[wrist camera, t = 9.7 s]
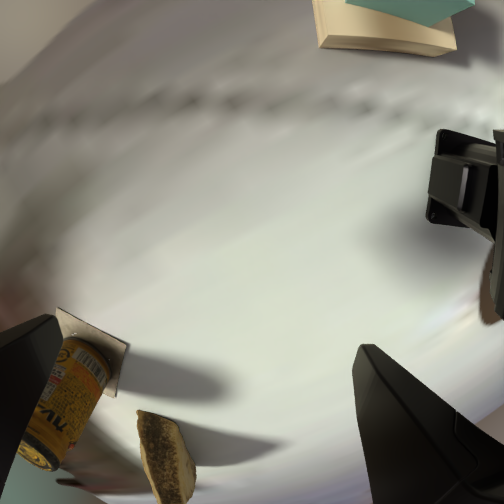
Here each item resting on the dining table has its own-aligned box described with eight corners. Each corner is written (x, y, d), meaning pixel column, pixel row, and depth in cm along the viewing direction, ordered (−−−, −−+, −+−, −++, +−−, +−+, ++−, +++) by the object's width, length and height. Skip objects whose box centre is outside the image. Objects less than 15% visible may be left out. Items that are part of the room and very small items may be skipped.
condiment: (55, 365, 27) (0, 447, 16) (57, 306, 24) (-21, 395, 13) (114, 397, 28) (72, 490, 17) (127, 342, 25) (69, 453, 14)
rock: (214, 488, 31) (236, 465, 26) (161, 524, 24) (169, 514, 20) (158, 428, 36) (165, 391, 31) (105, 456, 29) (98, 425, 25)
